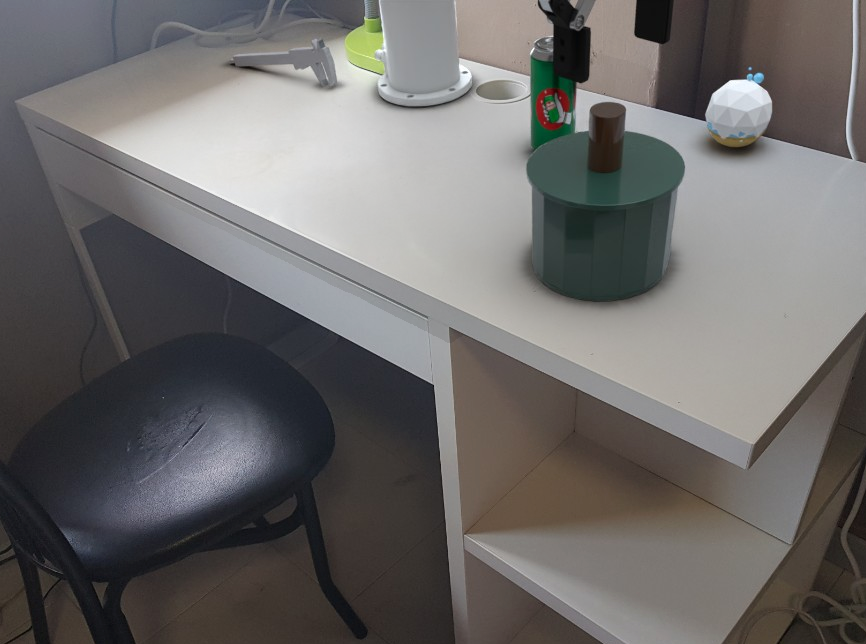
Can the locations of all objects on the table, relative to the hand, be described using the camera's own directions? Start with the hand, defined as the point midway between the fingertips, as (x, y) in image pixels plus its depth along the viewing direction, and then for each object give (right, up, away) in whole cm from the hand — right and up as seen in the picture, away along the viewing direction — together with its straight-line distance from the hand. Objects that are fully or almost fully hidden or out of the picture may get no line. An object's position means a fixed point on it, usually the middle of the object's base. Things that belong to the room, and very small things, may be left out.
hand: (612, 58), depth 67 cm
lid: (+1, -7, +7) cm, 10 cm away
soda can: (-1, +2, +31) cm, 31 cm away
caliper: (-37, +19, +53) cm, 67 cm away
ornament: (+19, +2, +28) cm, 34 cm away
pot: (+1, -14, +13) cm, 19 cm away
